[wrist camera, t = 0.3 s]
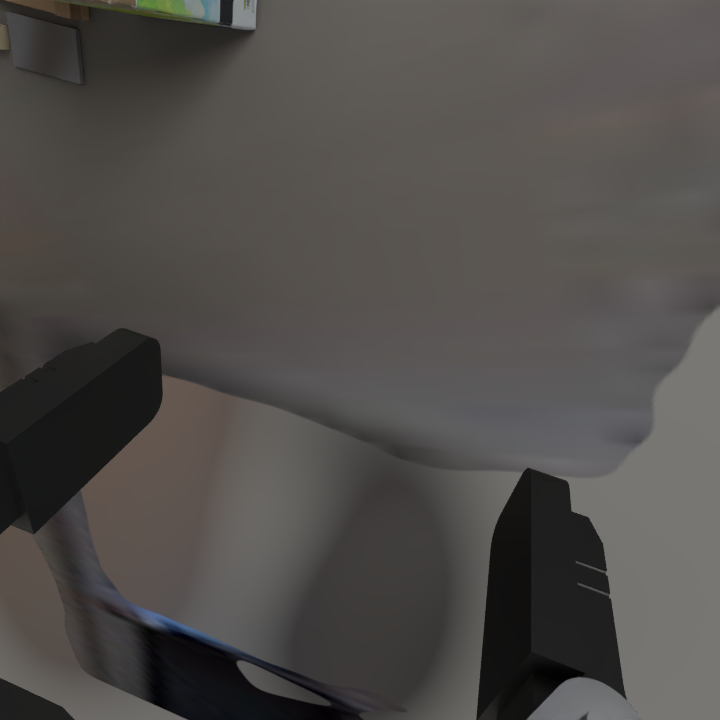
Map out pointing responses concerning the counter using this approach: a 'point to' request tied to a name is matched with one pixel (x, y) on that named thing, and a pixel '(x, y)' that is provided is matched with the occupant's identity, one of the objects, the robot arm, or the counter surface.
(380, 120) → the counter surface
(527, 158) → the counter surface
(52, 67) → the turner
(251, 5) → the tea box
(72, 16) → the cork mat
